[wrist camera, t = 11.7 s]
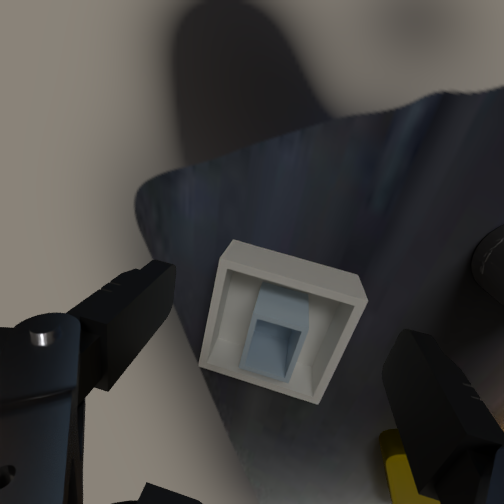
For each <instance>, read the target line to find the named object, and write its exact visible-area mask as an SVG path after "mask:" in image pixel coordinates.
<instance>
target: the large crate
mask: <svg viewBox="0 0 504 504" xmlns="http://www.w3.org/2000/svg"><path fill="white" fill-rule="evenodd" d="M262 282H266V283H270V284H273V285H277V286H280V287H284V288H287V289H291V290H294V291H298V292H302V293H305V294H308V302H309V330H308V333H307V336H306V338H305V341H304V344H303V346H302V349H301V352H300V354H299V357H298V360H297V362H296V365H295V368H294V370H293V373H292V376H291V378H290V381H289V383H286V382H283V381H279V380H276V379H273V378H270V377H266V376H263V375H260V374H257V373H253V372H250V371H247V370H244V369H240V368H239V364H240V360H241V356H242V353H243V349H244V345H245V341H246V338H247V334H248V330H249V326H250V322H251V319H252V315H253V311H254V308H255V305H256V301H257V298H258V295H259V291H260V288H261V285H262ZM367 302H368V299H367V297H366V294H365V292H364V289H363V287H362V284H361V282H360V279H359V276H358V275H356V274H353V273H349V272H346V271H342V270H339V269H335V268H332V267H328V266H325V265H321V264H318V263H314V262H311V261H307V260H304V259H300V258H297V257H293V256H290V255H286V254H282V253H279V252H275V251H272V250H268V249H265V248H261V247H258V246H254V245H251V244H247V243H244V242H240V241H237V240H233V241H232V242H231V243H230V245H229V246H228V247H227V249H226V250H225V252H224V253H223V254H222V256H221V257H220V260H219V265H218V270H217V275H216V280H215V285H214V290H213V295H212V300H211V305H210V310H209V315H208V320H207V325H206V330H205V335H204V340H203V344H202V349H201V354H200V359H199V364H198V366H199V367H203V368H206V369H209V370H212V371H215V372H218V373H221V374H224V375H227V376H230V377H234V378H237V379H240V380H243V381H246V382H249V383H252V384H255V385H258V386H261V387H264V388H268V389H271V390H274V391H277V392H280V393H283V394H286V395H289V396H292V397H295V398H299V399H302V400H305V401H308V402H311V403H314V404H317V405H318V404H319V402H320V400H321V398H322V396H323V394H324V392H325V390H326V388H327V386H328V384H329V381H330V379H331V377H332V375H333V373H334V371H335V369H336V367H337V365H338V363H339V361H340V359H341V356H342V354H343V352H344V350H345V348H346V346H347V344H348V342H349V340H350V338H351V336H352V334H353V331H354V329H355V327H356V325H357V323H358V321H359V319H360V317H361V315H362V313H363V311H364V309H365V306H366V304H367Z"/></svg>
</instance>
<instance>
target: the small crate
mask: <svg viewBox="0 0 504 504" xmlns="http://www.w3.org/2000/svg"><path fill="white" fill-rule="evenodd" d="M308 330H309V302H308V294H305V293H302V292H298V291H294V290H291V289H287V288H284V287H280V286H277V285H273V284H270V283H266V282H262V285H261V288H260V291H259V295H258V298H257V301H256V305H255V308H254V311H253V315H252V319H251V322H250V326H249V330H248V334H247V338H246V341H245V345H244V349H243V353H242V356H241V360H240V364H239V368H240V369H244V370H247V371H250V372H253V373H257V374H260V375H263V376H266V377H270V378H273V379H276V380H279V381H283V382H286V383H289V381H290V378H291V376H292V373H293V370H294V368H295V365H296V362H297V360H298V357H299V354H300V352H301V349H302V346H303V344H304V341H305V338H306V336H307V333H308Z"/></svg>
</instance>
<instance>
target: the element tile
mask: <svg viewBox="0 0 504 504" xmlns="http://www.w3.org/2000/svg"><path fill="white" fill-rule="evenodd" d="M379 442H380V447H381V452H382V458H383V463H384V468H385V473H386V479H387V484H388V488H389V492H390V496H391V500H392V504H440V501H438V500H435V499H432V498H429V497H426V496H422V495H419V494H418V491H417V488H416V485H415V482H414V478H413V475H412V472H411V469H410V466H409V463H408V460H407V456H406V453H405V450H404V447H403V444H402V441H401V438H400V434H399V431H398V429H390V430H386V431H383V432H382V433H381V434H380V436H379Z"/></svg>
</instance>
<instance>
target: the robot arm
mask: <svg viewBox="0 0 504 504" xmlns="http://www.w3.org/2000/svg"><path fill="white" fill-rule="evenodd" d="M471 270H472V274H473V277H474V279H475V281H476V282H477V283H478V285H479V286H481V287H482V288H483V289H484V290H485V291H487V292H488V293H489V294H490V295H491V296H493V297H494V298H495V299H496V300H497V301H499V302H500V303H501V304H502V305H503V306H504V225H502V226H500V227H498V228H497V229H495V230H494V231H492V232H491V233H490V234H488V235H487V236H486V237H485V238H484V239H483V240H482V241H481V243H480V244H479V245H478V247H477V248H476V250H475V252H474V254H473V258H472V262H471ZM175 278H176V266H175V265H173V264H170V263H166V262H162V261H159V260H152V261H151V262H150V263H148V264H147V265H146V266H144V267H143V268H142V269H141V270H139V269H133V270H131V271H127V272H124V273H121V274H120V275H119V276H117V277H116V278H114V279H113V280H112V281H111V282H110V283H108V284H106V285H105V286H103V287H102V288H101V290H98V291H96V292H95V293H93V294H92V295H91V296H89V297H88V298H86V299H85V300H83V301H82V302H81V303H79V304H78V305H77V306H75V307H74V308H72V309H71V310H70V311H68V312H67V313H46V314H41V315H37V316H34V317H31V318H28V319H26V320H24V321H22V322H21V323H19V324H17V325H16V326H15V327H14V328H8V327H7V328H6V327H0V504H83V453H84V426H85V397H86V396H87V395H88V394H89V393H90V391H91V390H92V389H93V388H94V387H95V388H98V389H101V390H104V391H109V390H110V389H111V388H112V386H113V385H114V384H115V383H116V381H117V380H118V379H119V378H120V376H121V375H122V374H123V373H124V371H125V370H126V369H127V367H128V366H129V365H130V364H131V362H132V361H133V360H134V359H135V357H136V356H137V355H138V353H139V352H140V351H141V349H142V348H143V347H144V346H145V345H146V343H147V342H148V341H149V340H150V338H151V337H152V336H153V334H154V333H155V332H156V331H157V330H158V328H159V327H160V326H161V325H162V323H163V322H164V320H166V318H167V317H168V315H169V313H170V311H171V308H172V304H173V298H174V288H175ZM382 380H383V384H384V387H385V390H386V393H387V397H388V400H389V403H390V406H391V409H392V412H393V416H394V419H395V422H396V425H397V428H398V431H399V434H400V438H401V441H402V444H403V447H404V450H405V453H406V456H407V460H408V463H409V466H410V469H411V472H412V475H413V478H414V482H415V485H416V488H417V491H418V494H419V495H422V496H426V497H429V498H432V499H435V500H438V501H440V504H504V432H503V431H502V429H501V428H500V426H499V425H498V423H497V422H496V420H495V419H494V417H493V416H492V414H491V413H490V411H489V410H488V409H487V407H486V406H485V404H484V403H483V401H480V397H479V395H478V394H477V392H476V391H475V389H474V388H472V387H471V383H470V382H469V381H468V379H467V378H466V376H465V375H464V373H463V372H462V370H461V369H460V368H459V367H458V366H457V365H456V364H455V363H453V362H452V361H451V360H450V359H449V358H448V357H447V356H446V355H444V353H443V352H442V350H441V349H440V347H439V346H438V344H437V343H436V341H435V340H434V338H433V337H432V336H431V335H428V334H424V333H420V332H417V331H413V330H409V329H404V330H403V331H402V332H401V333H400V334H399V336H398V338H397V340H396V342H395V344H394V346H393V348H392V349H391V351H390V353H389V355H388V357H387V359H386V361H385V363H384V366H383V370H382ZM112 504H202V503H201V502H200V501H198V500H196V499H193V498H190V497H187V496H184V495H181V494H178V493H176V492H173V491H170V490H167V489H164V488H162V487H158V486H156V485H153V484H150V483H147V482H146V485H145V487H144V489H143V491H142V493H141V496H140V498H139V499H138V501H124V502H117V503H112Z"/></svg>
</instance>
